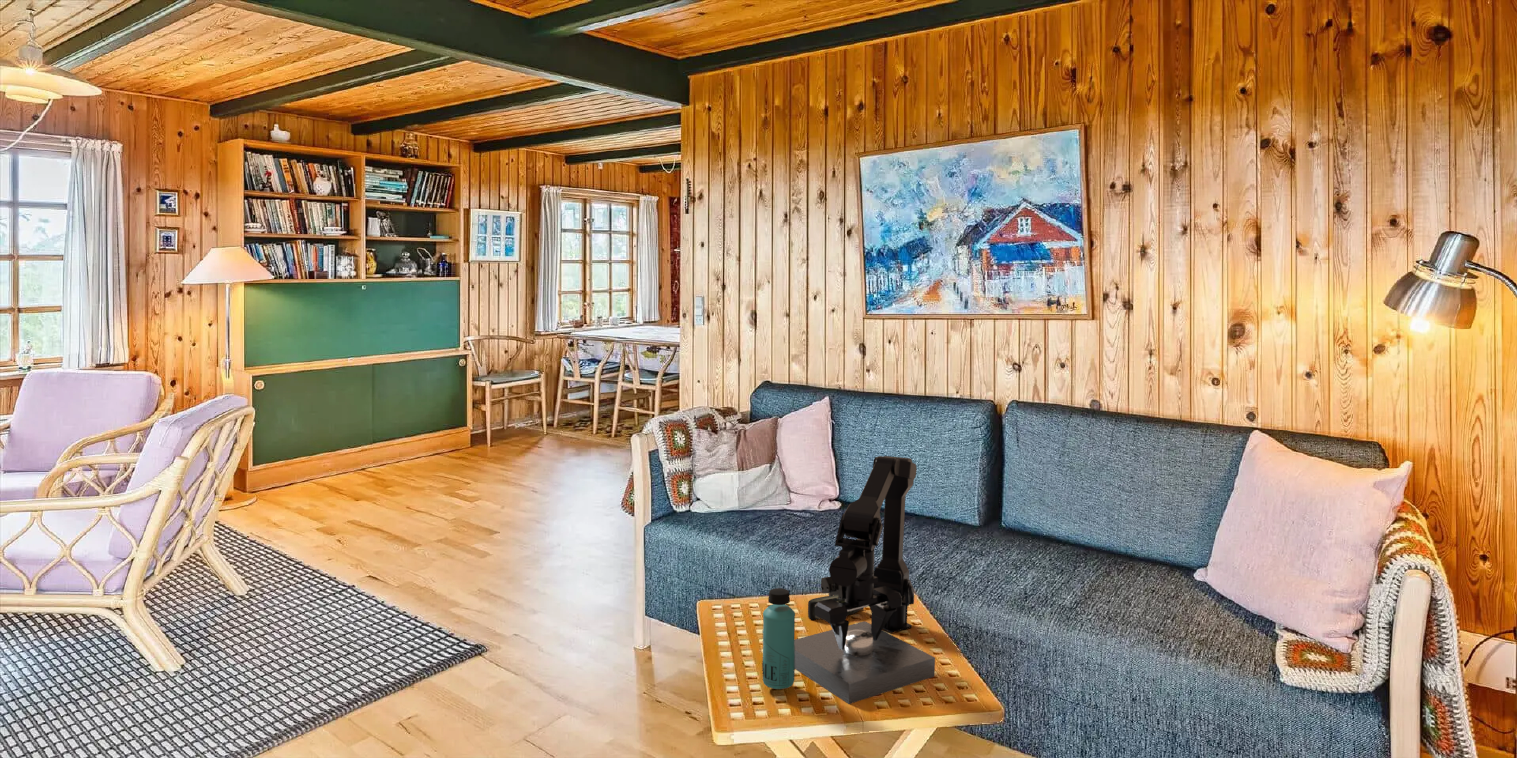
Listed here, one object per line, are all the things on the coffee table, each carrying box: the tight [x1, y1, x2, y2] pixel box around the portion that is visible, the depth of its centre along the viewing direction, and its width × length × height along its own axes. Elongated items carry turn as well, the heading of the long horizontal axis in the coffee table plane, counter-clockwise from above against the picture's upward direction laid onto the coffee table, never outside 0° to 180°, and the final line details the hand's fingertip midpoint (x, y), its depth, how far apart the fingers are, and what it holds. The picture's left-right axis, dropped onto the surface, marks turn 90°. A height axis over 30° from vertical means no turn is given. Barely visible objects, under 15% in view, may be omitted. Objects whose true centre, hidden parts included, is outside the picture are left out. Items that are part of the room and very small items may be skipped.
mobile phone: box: [807, 595, 865, 621], centre depth 209 cm, size 5×3×15 cm
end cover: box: [843, 630, 873, 657], centre depth 180 cm, size 6×6×7 cm
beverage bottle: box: [761, 587, 796, 690], centre depth 170 cm, size 6×7×20 cm
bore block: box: [794, 620, 936, 705], centre depth 180 cm, size 22×22×4 cm
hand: (857, 644), depth 180 cm, fingers open, 8 cm apart
